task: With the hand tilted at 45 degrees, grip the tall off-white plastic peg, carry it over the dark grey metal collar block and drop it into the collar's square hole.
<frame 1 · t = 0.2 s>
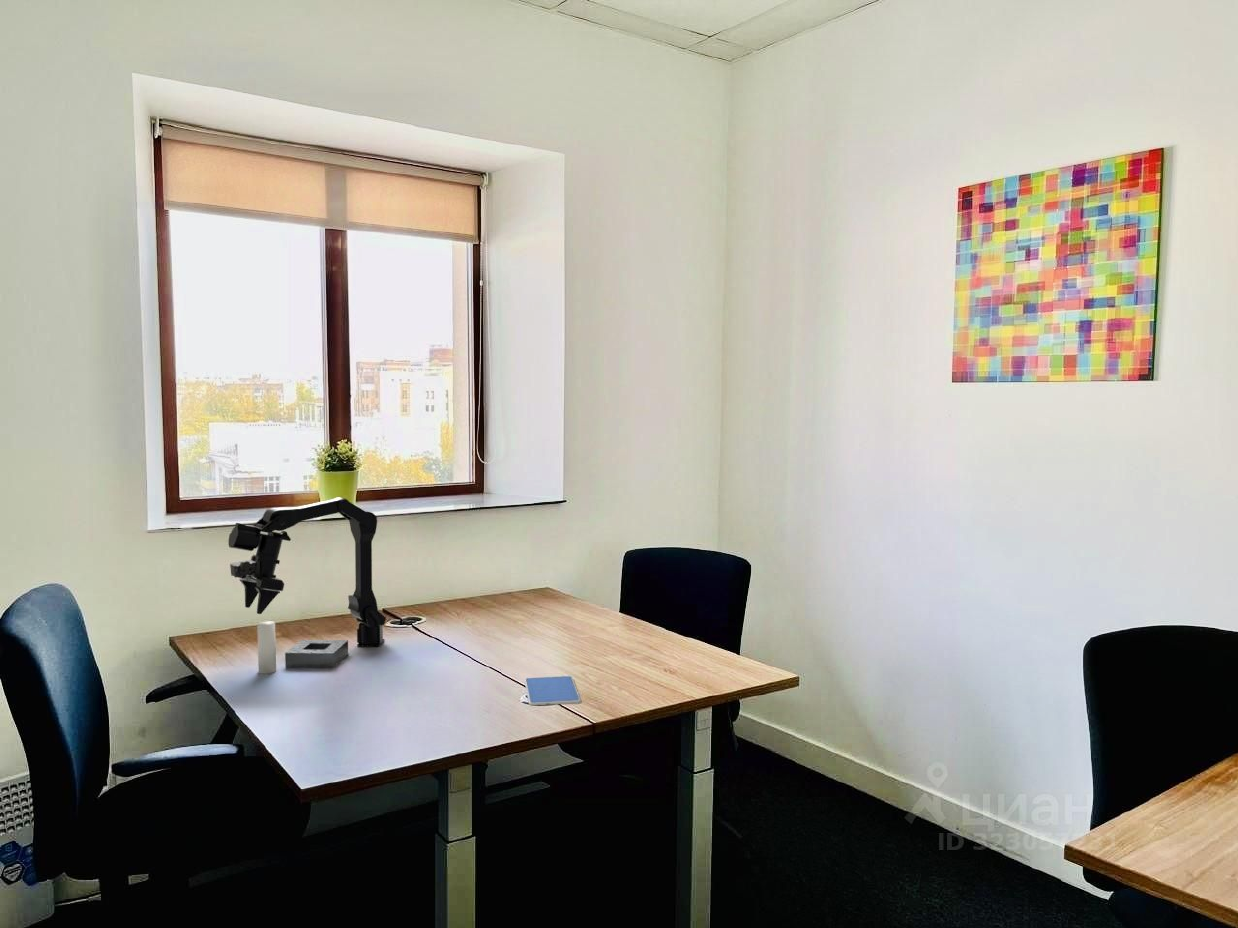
hand: (253, 610, 248), 15 cm above the table, fingers open, 9 cm apart
peg: (267, 671, 245), on the table
collar: (317, 660, 254), on the table
tablet computer: (551, 694, 230), on the table
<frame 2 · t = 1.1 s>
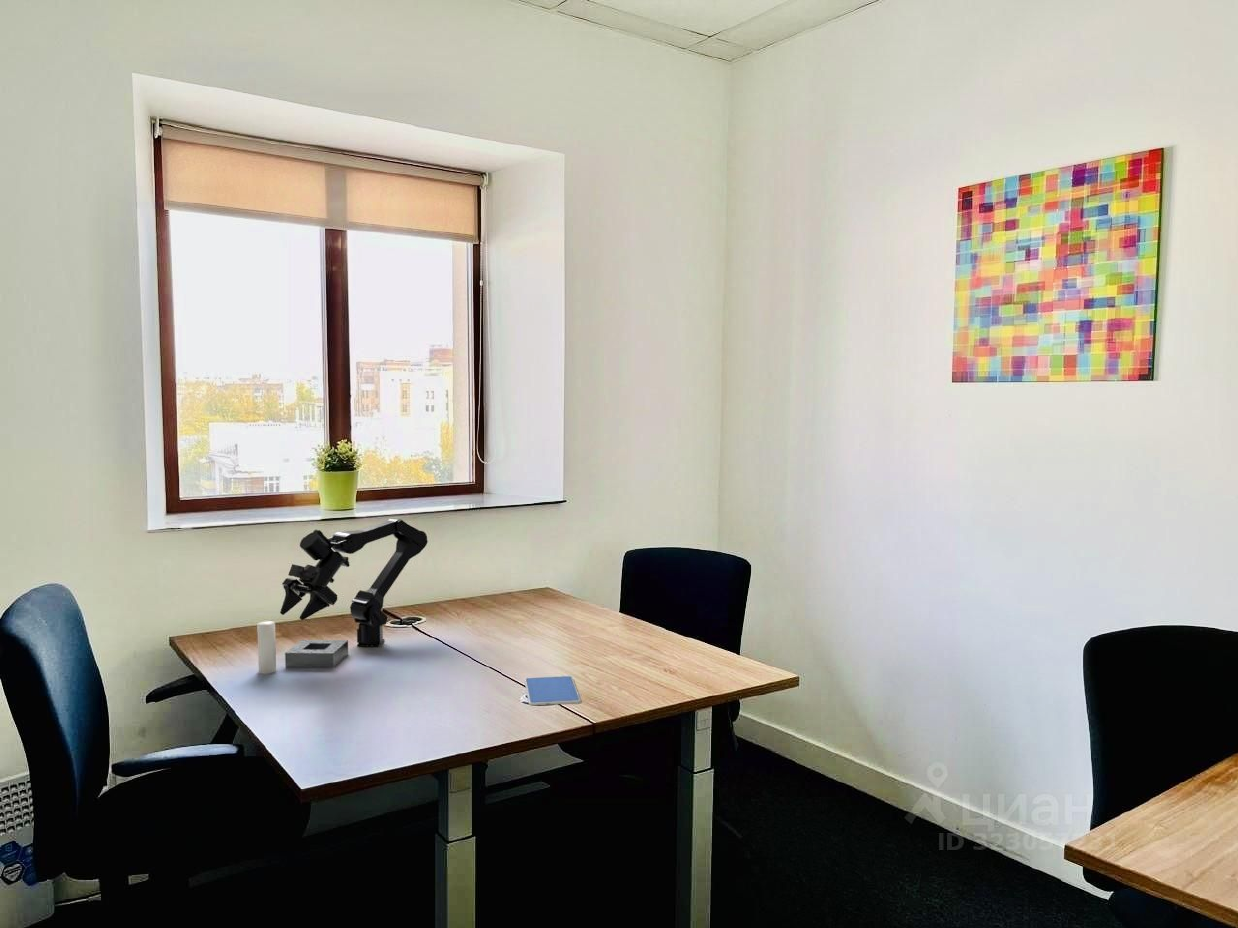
hand: (291, 616, 249), 13 cm above the table, fingers open, 9 cm apart
nothing on the table moved.
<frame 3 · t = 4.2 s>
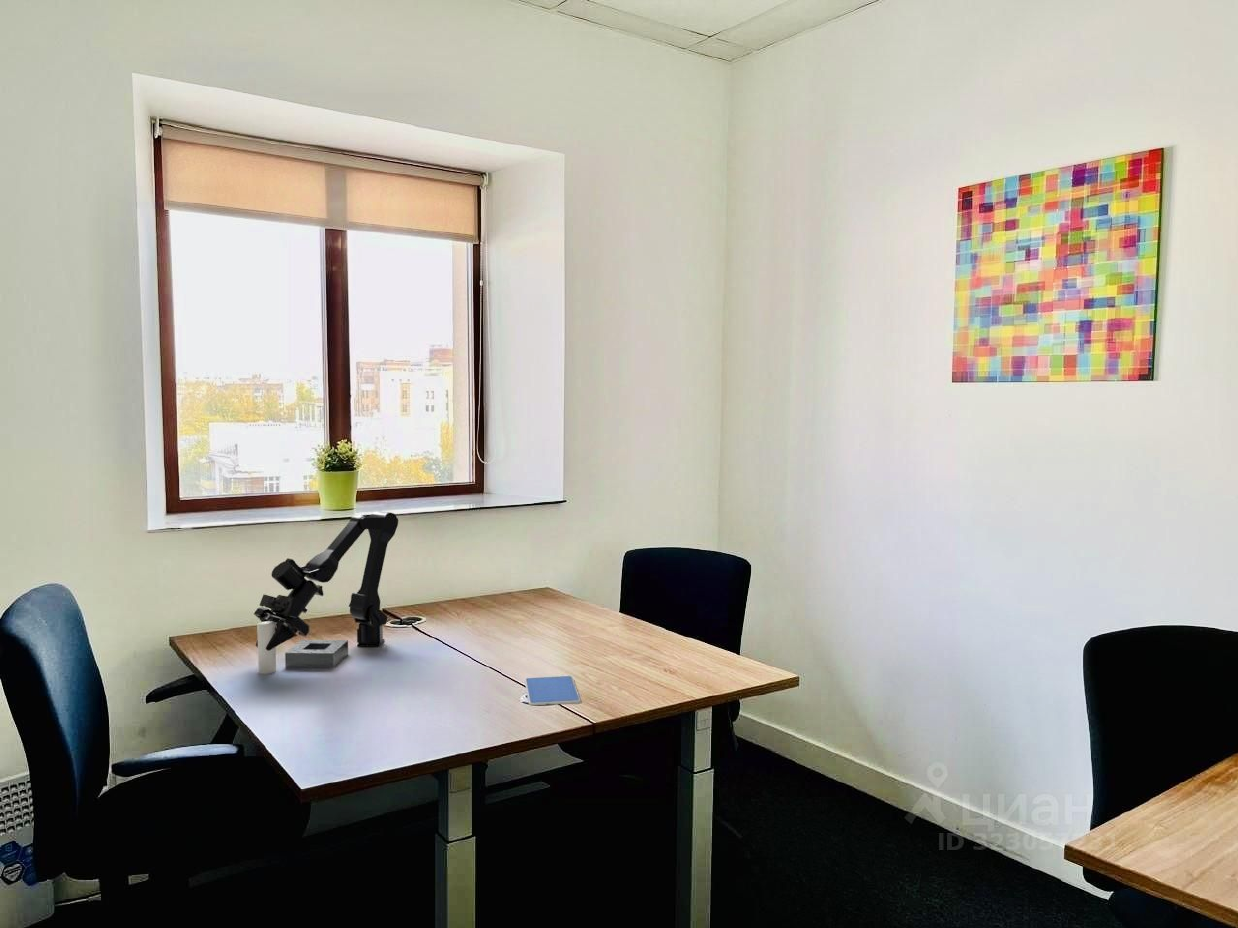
hand: (261, 648, 243), 7 cm above the table, fingers closed on peg, 4 cm apart
peg: (267, 671, 245), on the table, touching gripper
everything else where it was.
when the fingers open (8 cm above the table, at t = 8.7 s): peg drops 2 cm, resting in collar.
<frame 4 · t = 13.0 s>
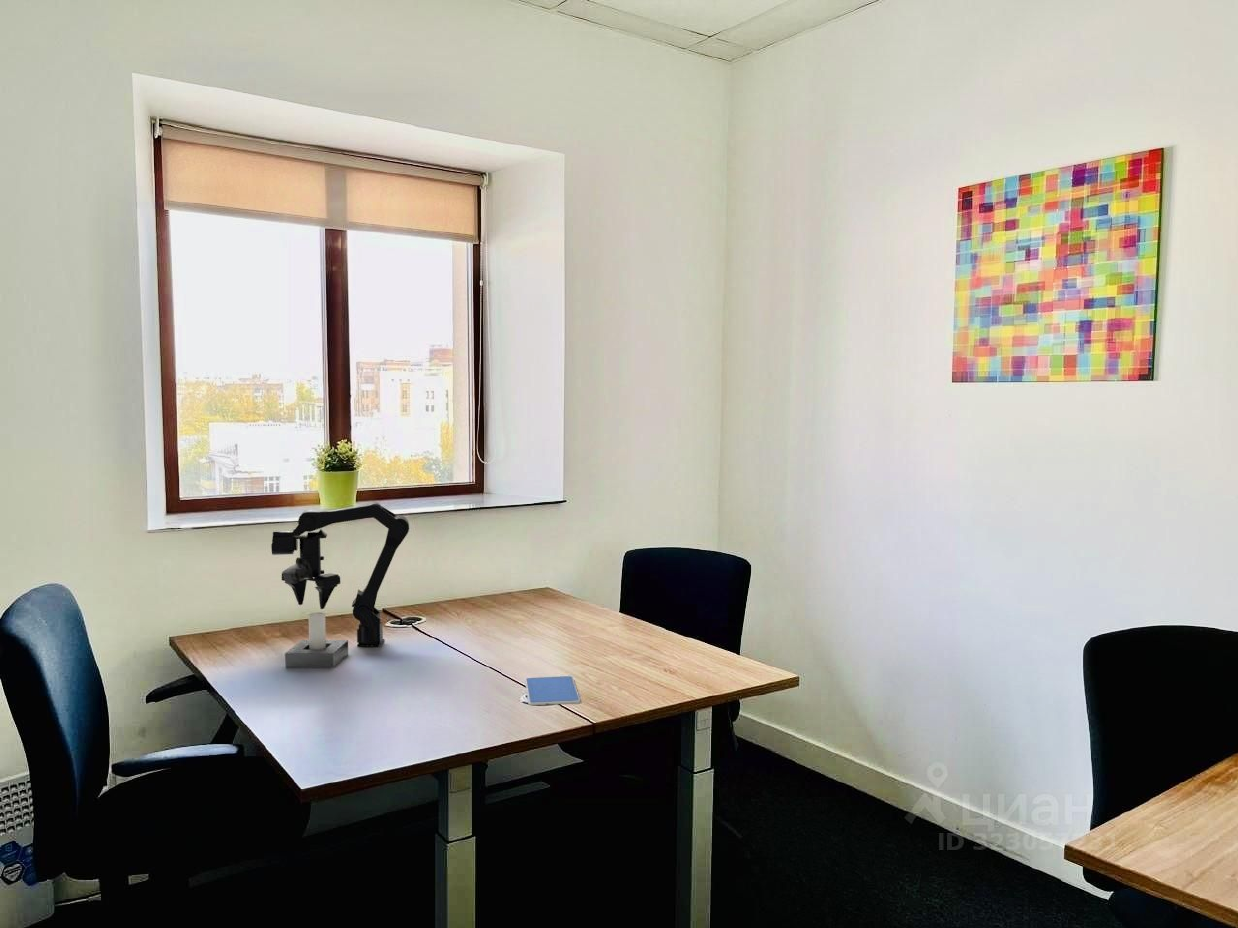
hand: (311, 606, 267), 12 cm above the table, fingers open, 9 cm apart
peg: (317, 660, 255), resting in collar
everything else where it was.
at the end: peg 0.1 cm off-centre on the collar, point 0.0 cm above the collar's base; peg tilted 0°; the gripper is holding nothing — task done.
